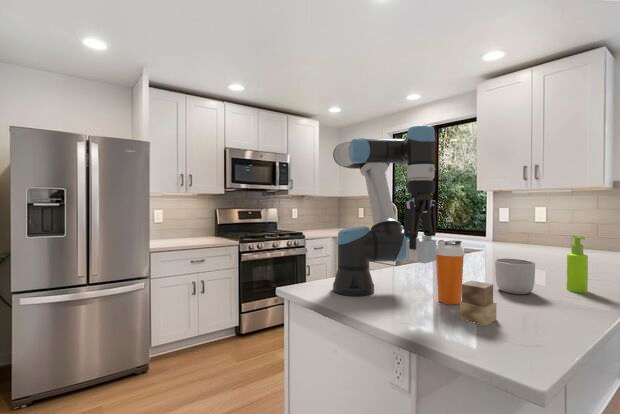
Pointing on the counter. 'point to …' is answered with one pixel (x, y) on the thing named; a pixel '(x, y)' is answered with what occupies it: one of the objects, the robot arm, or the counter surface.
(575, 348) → the counter surface
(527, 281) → the planter
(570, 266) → the soap dispenser
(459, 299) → the shaker bottle
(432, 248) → the grey-blue cube
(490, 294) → the walnut block
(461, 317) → the oak block
